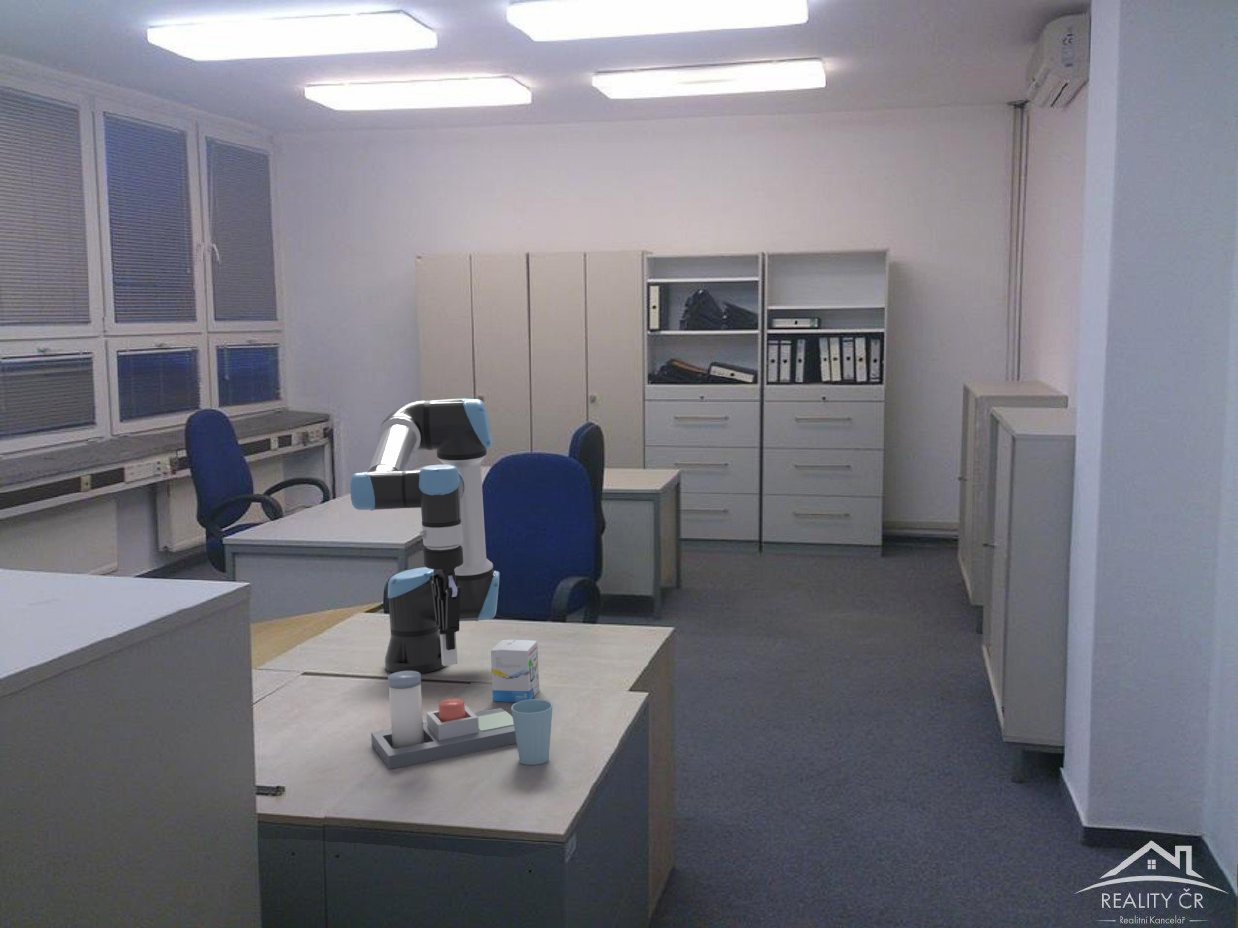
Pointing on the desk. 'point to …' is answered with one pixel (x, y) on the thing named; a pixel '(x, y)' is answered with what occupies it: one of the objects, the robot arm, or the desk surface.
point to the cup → (532, 730)
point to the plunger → (451, 710)
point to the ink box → (515, 670)
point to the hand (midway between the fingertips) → (449, 663)
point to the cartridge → (406, 708)
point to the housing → (449, 737)
